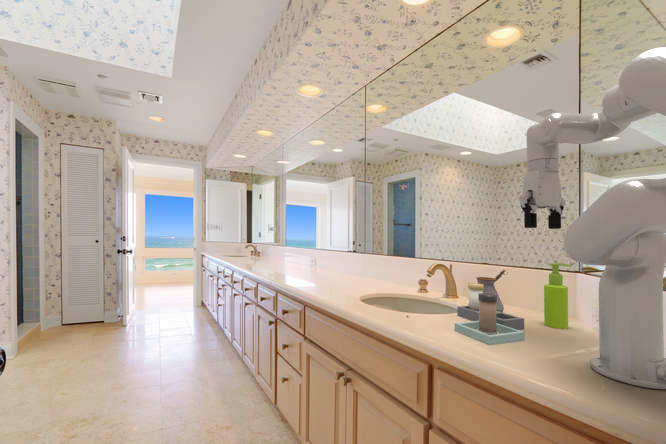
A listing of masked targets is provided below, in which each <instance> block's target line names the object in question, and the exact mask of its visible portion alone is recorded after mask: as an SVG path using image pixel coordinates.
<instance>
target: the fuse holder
mask: <svg viewBox="0 0 666 444" xmlns="http://www.w3.org/2000/svg"><path fill="white" fill-rule="evenodd" d="M456 310H457V312H456V314H457V316H458V317H459V318H460V317H461V318H463V319H465V320H469V321H470V322H472V321H479V311H474V310H471V309H469V306H468V305H459V306H457V308H456ZM496 323H498V324H501V325H504V326H507V327H510V328H513V329H516V330H519V331H522V330H525V318H523V317H519V316H516V315H513V314H510V313H505V312H499V311H496Z"/></svg>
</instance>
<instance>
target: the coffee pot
mask: <svg viewBox="0 0 666 444" xmlns="http://www.w3.org/2000/svg"><path fill="white" fill-rule="evenodd" d="M505 272H506V273H507V274H506V273H505ZM508 274H509V272H508V271H506V270H505V269H504V270H502V271H500V272H499V274H497V275H496V276H495V278H494V277H487V276H476V278H475V280H477V281H476V282H477V283H480V284H484V289H483V293H489V294H495V295H497V302H496V311H499V312H502V313H504V310H505V307H504V305H503V302H502V300H501V298H500V295H499V294H498V292H497V289H496V287H495V283H496V282H497V281H498V280H499V279H500V278H502V276H503V275H504V276H507V275H508ZM467 306H469V303H468V305H467Z"/></svg>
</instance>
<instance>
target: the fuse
mask: <svg viewBox="0 0 666 444" xmlns="http://www.w3.org/2000/svg"><path fill="white" fill-rule="evenodd" d="M467 284H468V285H467V288H468V304H469V309H471V310H474V311H479V300H478V294H479V293H483V289H484V284H480V283H478V282H469V283H467Z"/></svg>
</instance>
